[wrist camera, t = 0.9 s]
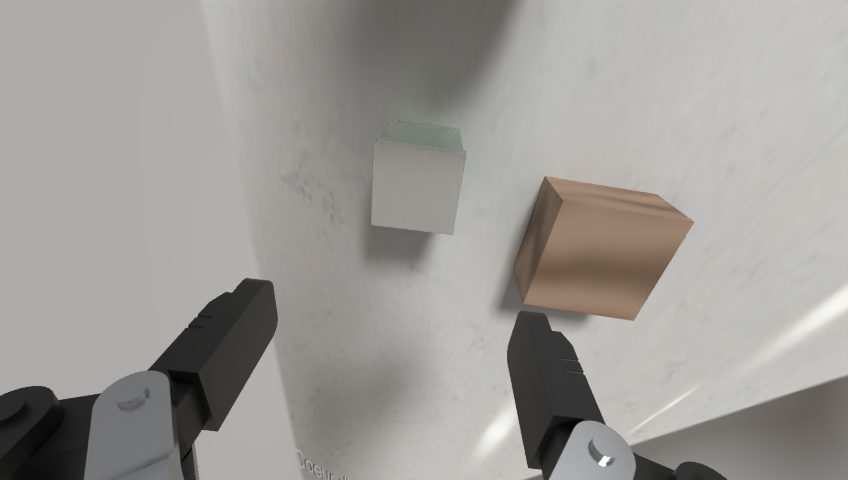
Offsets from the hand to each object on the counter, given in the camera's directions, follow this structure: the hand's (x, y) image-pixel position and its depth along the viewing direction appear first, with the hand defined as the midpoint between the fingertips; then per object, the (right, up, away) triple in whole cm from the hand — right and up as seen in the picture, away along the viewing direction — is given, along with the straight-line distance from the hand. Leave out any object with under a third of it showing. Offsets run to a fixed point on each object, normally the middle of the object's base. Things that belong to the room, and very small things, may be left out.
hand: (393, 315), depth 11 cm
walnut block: (+14, +3, +18) cm, 23 cm away
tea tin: (+1, +9, +15) cm, 18 cm away
